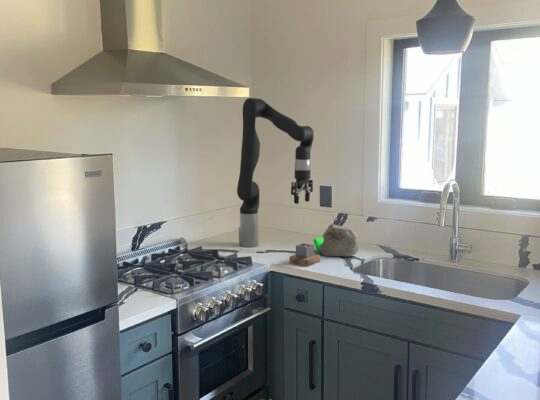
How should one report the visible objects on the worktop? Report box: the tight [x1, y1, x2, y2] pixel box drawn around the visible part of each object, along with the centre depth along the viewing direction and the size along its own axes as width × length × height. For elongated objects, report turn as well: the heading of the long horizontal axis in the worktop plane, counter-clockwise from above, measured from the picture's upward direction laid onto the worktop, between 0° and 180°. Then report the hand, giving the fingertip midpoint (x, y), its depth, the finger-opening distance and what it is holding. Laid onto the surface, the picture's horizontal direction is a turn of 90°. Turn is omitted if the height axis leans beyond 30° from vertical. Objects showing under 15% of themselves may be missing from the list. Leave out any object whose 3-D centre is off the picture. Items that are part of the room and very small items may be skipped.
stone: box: [319, 223, 360, 258], centre depth 260 cm, size 19×7×15 cm, turn 73°
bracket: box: [312, 236, 324, 254], centre depth 275 cm, size 20×10×7 cm, turn 121°
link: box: [295, 242, 315, 258], centre depth 250 cm, size 6×6×5 cm
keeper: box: [289, 245, 321, 267], centre depth 250 cm, size 10×10×8 cm
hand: (301, 202), depth 261 cm, fingers open, 8 cm apart
